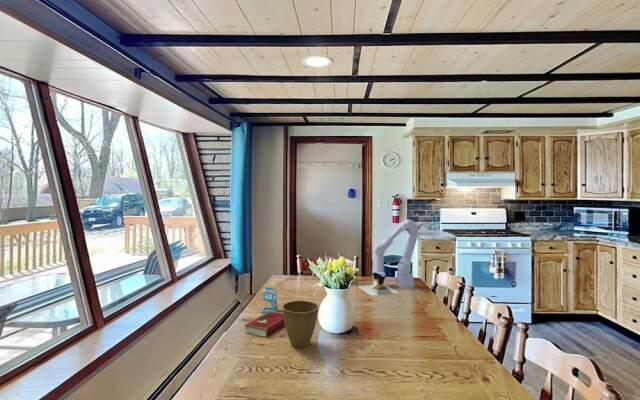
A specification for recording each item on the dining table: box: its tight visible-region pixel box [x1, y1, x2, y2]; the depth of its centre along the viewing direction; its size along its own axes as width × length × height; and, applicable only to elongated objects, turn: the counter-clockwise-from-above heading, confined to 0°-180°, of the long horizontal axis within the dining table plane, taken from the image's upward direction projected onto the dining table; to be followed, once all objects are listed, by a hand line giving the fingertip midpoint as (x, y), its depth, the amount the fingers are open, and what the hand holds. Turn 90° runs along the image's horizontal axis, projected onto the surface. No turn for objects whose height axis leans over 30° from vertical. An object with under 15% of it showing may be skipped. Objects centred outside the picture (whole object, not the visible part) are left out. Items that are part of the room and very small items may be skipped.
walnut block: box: [375, 284, 388, 290], centre depth 232 cm, size 5×5×4 cm
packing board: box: [357, 283, 399, 296], centre depth 238 cm, size 19×22×3 cm
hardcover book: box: [243, 311, 285, 338], centre depth 176 cm, size 12×21×4 cm, turn 154°
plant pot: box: [282, 300, 320, 349], centre depth 157 cm, size 15×15×16 cm
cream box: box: [373, 279, 385, 286], centre depth 245 cm, size 5×5×4 cm
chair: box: [259, 287, 279, 314], centre depth 198 cm, size 8×8×12 cm
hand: (378, 285), depth 245 cm, fingers closed on cream box, 5 cm apart
